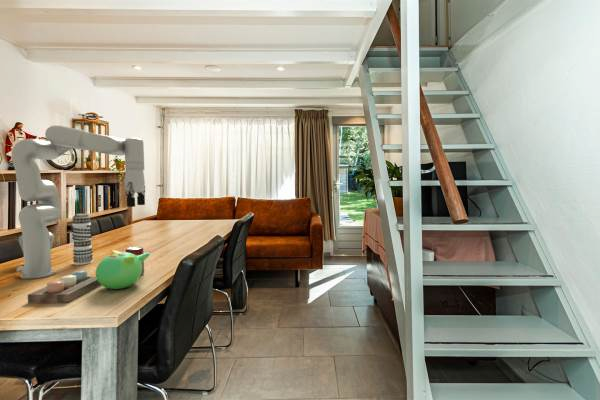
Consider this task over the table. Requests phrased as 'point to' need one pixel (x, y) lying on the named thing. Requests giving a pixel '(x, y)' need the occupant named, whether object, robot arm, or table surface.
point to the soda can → (136, 252)
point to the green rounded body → (120, 269)
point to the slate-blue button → (80, 275)
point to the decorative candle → (82, 239)
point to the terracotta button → (55, 287)
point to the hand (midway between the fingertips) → (136, 205)
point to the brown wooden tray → (64, 292)
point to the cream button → (69, 280)
